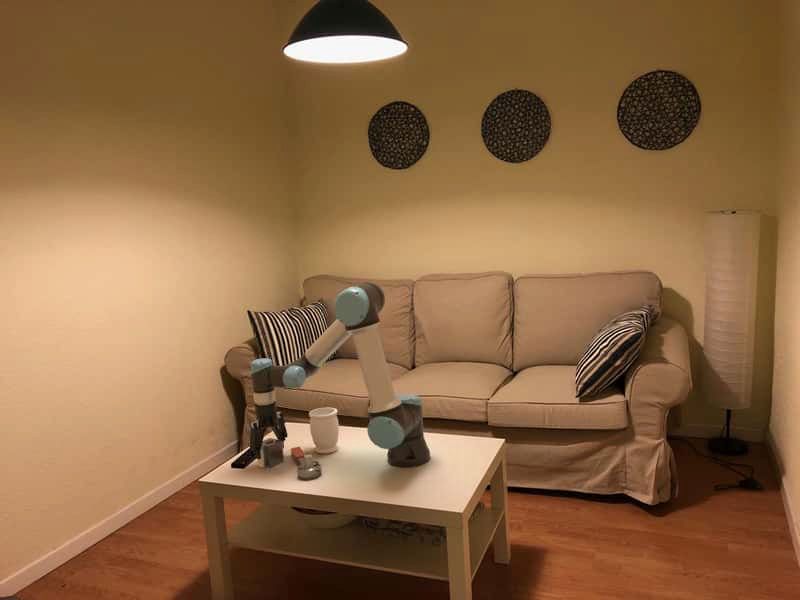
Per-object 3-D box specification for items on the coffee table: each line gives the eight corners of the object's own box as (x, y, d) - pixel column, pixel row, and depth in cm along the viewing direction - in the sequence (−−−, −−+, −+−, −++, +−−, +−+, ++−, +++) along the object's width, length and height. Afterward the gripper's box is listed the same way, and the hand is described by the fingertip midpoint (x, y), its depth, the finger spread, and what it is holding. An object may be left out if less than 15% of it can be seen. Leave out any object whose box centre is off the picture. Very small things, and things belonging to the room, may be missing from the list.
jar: (343, 444, 262) (339, 406, 260) (337, 454, 252) (334, 415, 250) (315, 445, 263) (312, 407, 261) (309, 455, 253) (305, 416, 251)
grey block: (283, 461, 249) (281, 439, 248) (270, 467, 245) (268, 445, 243) (272, 458, 253) (270, 437, 252) (259, 464, 249) (257, 442, 247)
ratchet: (324, 477, 233) (322, 457, 232) (301, 482, 230) (299, 462, 229) (306, 452, 257) (304, 434, 256) (285, 456, 254) (283, 438, 253)
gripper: (280, 392, 256) (286, 450, 259) (234, 408, 240) (241, 470, 243) (294, 395, 251) (299, 454, 255) (248, 412, 235) (254, 474, 239)
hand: (271, 462), depth 249 cm, fingers open, 8 cm apart
